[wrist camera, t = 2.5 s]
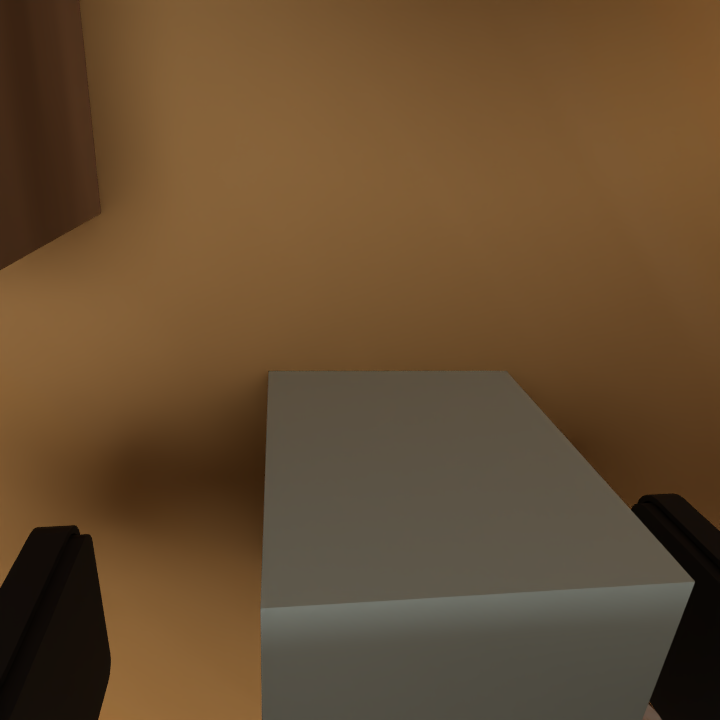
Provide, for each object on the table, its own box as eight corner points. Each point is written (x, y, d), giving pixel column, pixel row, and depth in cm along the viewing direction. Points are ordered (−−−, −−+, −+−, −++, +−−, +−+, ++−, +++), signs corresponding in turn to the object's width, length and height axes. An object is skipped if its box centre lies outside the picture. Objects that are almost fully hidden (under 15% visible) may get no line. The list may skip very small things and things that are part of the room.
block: (505, 369, 12) (694, 581, 7) (473, 553, 14) (597, 833, 9) (268, 370, 11) (260, 608, 6) (269, 563, 13) (264, 877, 8)
